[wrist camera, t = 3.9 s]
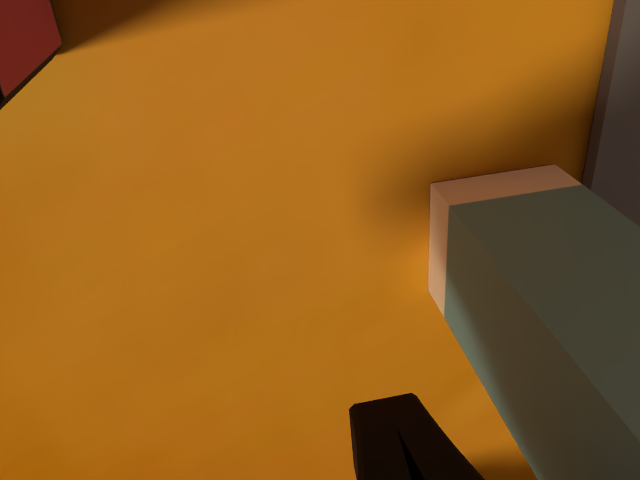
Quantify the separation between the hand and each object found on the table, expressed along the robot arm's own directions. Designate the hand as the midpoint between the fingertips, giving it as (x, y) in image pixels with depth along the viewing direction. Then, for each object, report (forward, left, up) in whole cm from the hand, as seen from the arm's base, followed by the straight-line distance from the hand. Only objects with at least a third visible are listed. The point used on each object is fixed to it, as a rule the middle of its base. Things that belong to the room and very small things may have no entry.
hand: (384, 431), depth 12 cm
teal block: (0, -5, -7) cm, 9 cm away
